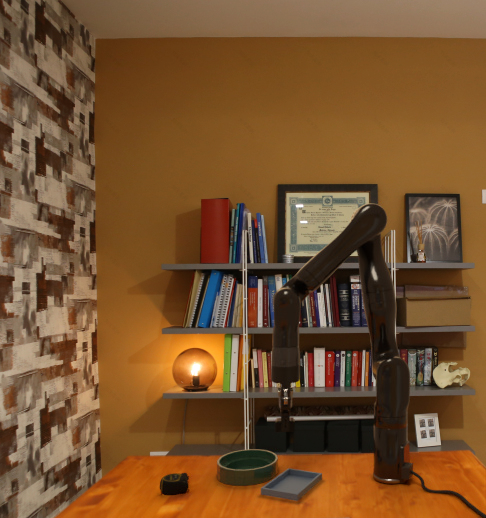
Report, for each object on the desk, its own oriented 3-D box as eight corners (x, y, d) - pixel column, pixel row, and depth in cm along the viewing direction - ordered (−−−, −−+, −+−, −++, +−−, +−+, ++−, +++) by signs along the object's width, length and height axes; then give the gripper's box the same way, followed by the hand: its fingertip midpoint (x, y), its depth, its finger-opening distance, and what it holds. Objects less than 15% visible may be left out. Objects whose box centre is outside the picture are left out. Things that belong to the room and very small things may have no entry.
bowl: (287, 469, 140) (288, 453, 140) (257, 492, 124) (257, 473, 125) (239, 462, 145) (239, 446, 145) (204, 482, 130) (204, 465, 130)
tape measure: (188, 496, 122) (188, 480, 122) (158, 499, 120) (158, 483, 120) (188, 485, 128) (189, 470, 129) (160, 488, 126) (161, 473, 126)
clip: (294, 428, 131) (294, 416, 131) (294, 431, 128) (294, 419, 128) (275, 429, 130) (275, 417, 130) (275, 432, 127) (275, 420, 127)
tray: (322, 481, 132) (322, 473, 132) (297, 503, 118) (297, 494, 118) (288, 475, 135) (288, 468, 135) (260, 496, 122) (260, 488, 122)
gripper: (301, 367, 124) (300, 437, 123) (298, 358, 137) (298, 421, 136) (270, 368, 122) (270, 438, 121) (271, 359, 136) (271, 422, 135)
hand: (285, 429), depth 129 cm, fingers closed on clip, 2 cm apart
